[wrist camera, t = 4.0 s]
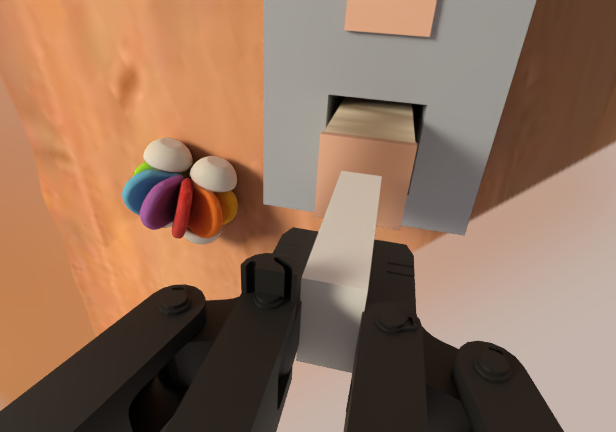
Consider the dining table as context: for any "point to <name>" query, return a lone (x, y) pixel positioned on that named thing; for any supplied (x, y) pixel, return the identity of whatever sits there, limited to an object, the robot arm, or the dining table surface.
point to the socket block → (390, 90)
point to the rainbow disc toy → (182, 192)
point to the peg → (369, 153)
